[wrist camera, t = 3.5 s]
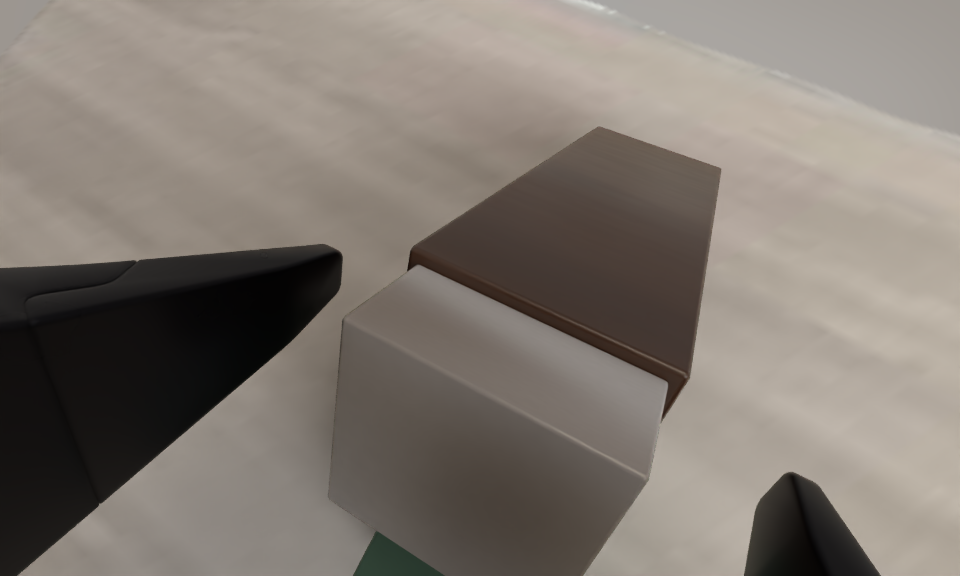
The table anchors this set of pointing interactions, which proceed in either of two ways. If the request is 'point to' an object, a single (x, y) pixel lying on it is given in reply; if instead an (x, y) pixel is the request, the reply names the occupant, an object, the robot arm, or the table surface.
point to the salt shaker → (527, 363)
